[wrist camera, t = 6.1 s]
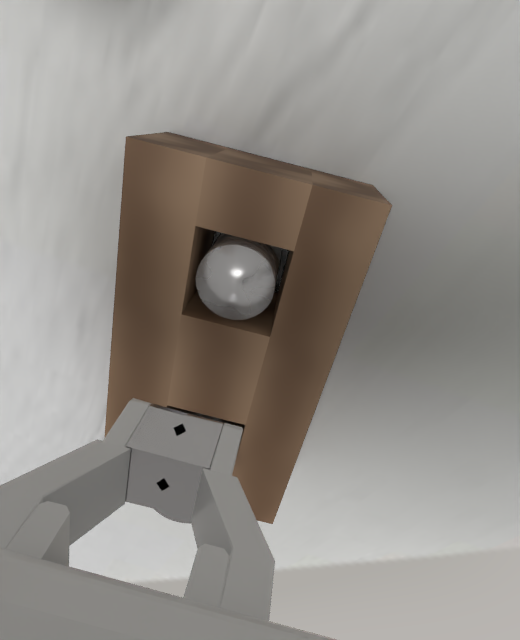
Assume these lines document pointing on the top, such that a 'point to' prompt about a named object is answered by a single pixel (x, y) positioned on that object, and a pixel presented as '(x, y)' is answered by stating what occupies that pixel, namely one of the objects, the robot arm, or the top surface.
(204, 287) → the peg
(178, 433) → the robot arm
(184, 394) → the brown wooden block
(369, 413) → the top surface
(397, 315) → the top surface
